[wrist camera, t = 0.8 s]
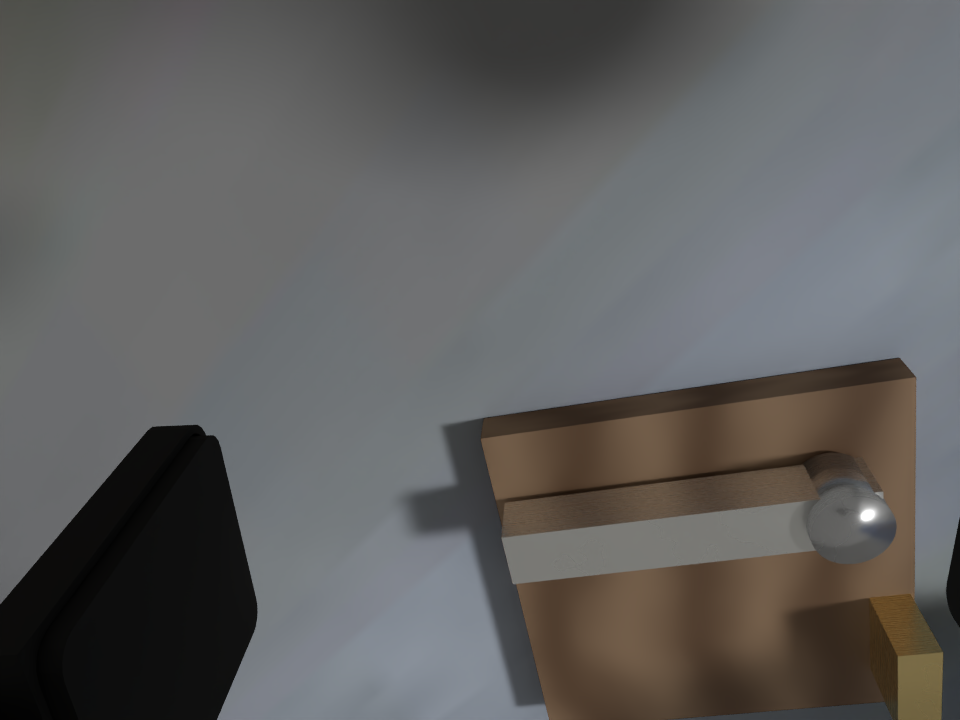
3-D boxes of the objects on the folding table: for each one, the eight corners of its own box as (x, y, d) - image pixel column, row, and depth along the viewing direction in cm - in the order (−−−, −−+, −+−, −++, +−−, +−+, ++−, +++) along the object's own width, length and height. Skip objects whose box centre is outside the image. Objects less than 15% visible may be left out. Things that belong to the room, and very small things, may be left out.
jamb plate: (899, 358, 39) (916, 377, 37) (899, 671, 47) (913, 699, 45) (483, 418, 42) (480, 438, 40) (551, 701, 50) (551, 728, 49)
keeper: (910, 593, 42) (943, 652, 39) (909, 666, 44) (941, 728, 41) (868, 597, 43) (897, 656, 39) (870, 669, 45) (898, 731, 41)
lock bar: (868, 447, 39) (896, 492, 35) (869, 510, 40) (896, 559, 37) (503, 495, 41) (498, 540, 38) (516, 552, 43) (513, 600, 40)
